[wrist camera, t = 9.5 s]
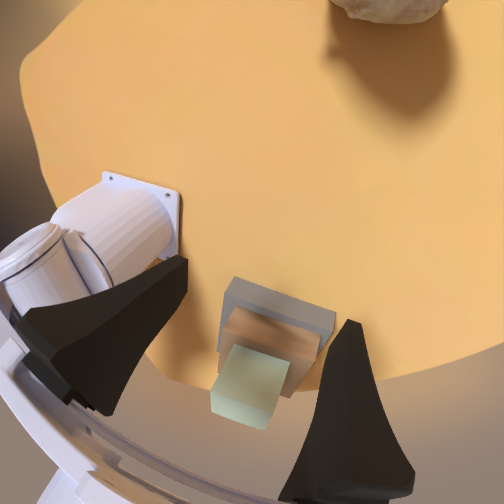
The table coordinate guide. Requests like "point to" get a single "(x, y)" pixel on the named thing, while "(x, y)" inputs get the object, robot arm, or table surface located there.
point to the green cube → (248, 386)
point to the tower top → (271, 343)
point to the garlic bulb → (391, 10)
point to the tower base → (276, 309)
